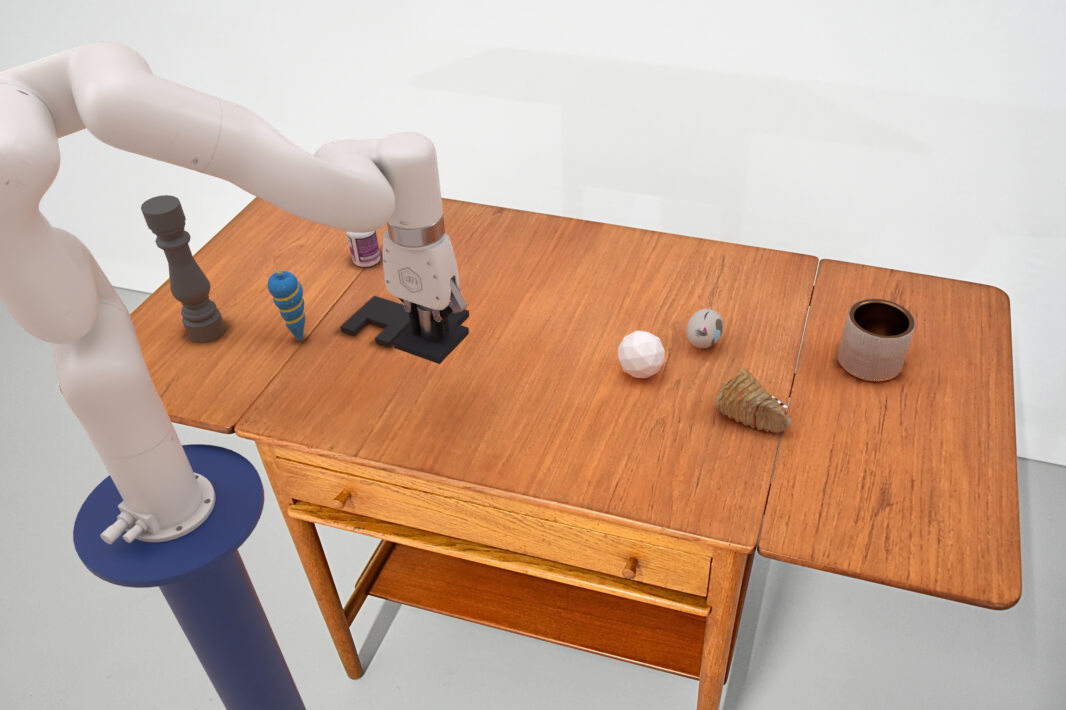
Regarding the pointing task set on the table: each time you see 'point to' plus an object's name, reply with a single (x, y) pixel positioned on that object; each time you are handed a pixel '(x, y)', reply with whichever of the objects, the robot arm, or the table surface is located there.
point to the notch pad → (379, 320)
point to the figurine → (704, 328)
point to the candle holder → (183, 269)
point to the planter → (875, 339)
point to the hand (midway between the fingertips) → (430, 332)
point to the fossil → (751, 403)
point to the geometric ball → (641, 354)
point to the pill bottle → (364, 248)
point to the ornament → (288, 300)
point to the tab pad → (433, 346)
